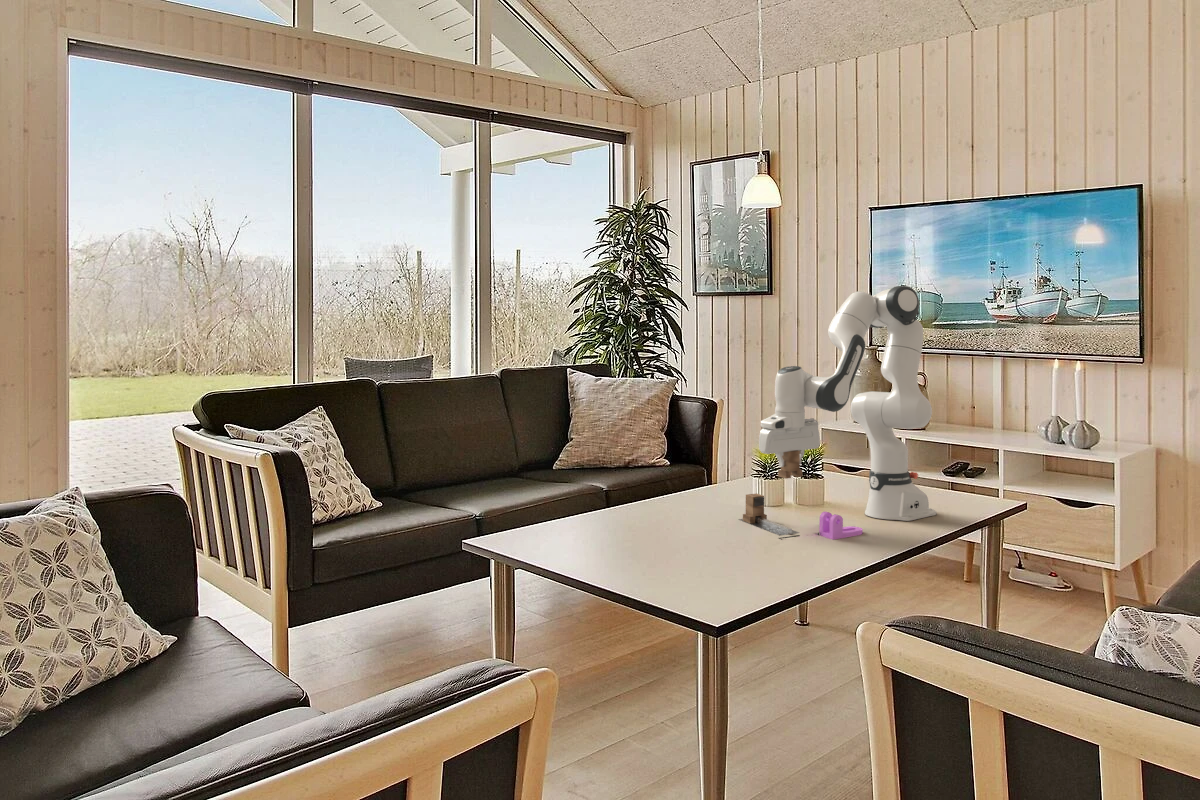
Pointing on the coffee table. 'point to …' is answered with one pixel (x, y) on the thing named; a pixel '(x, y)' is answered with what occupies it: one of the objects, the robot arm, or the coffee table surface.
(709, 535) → the coffee table surface
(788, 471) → the loose finger
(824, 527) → the bracket
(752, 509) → the fixed finger
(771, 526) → the rail
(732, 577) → the coffee table surface
